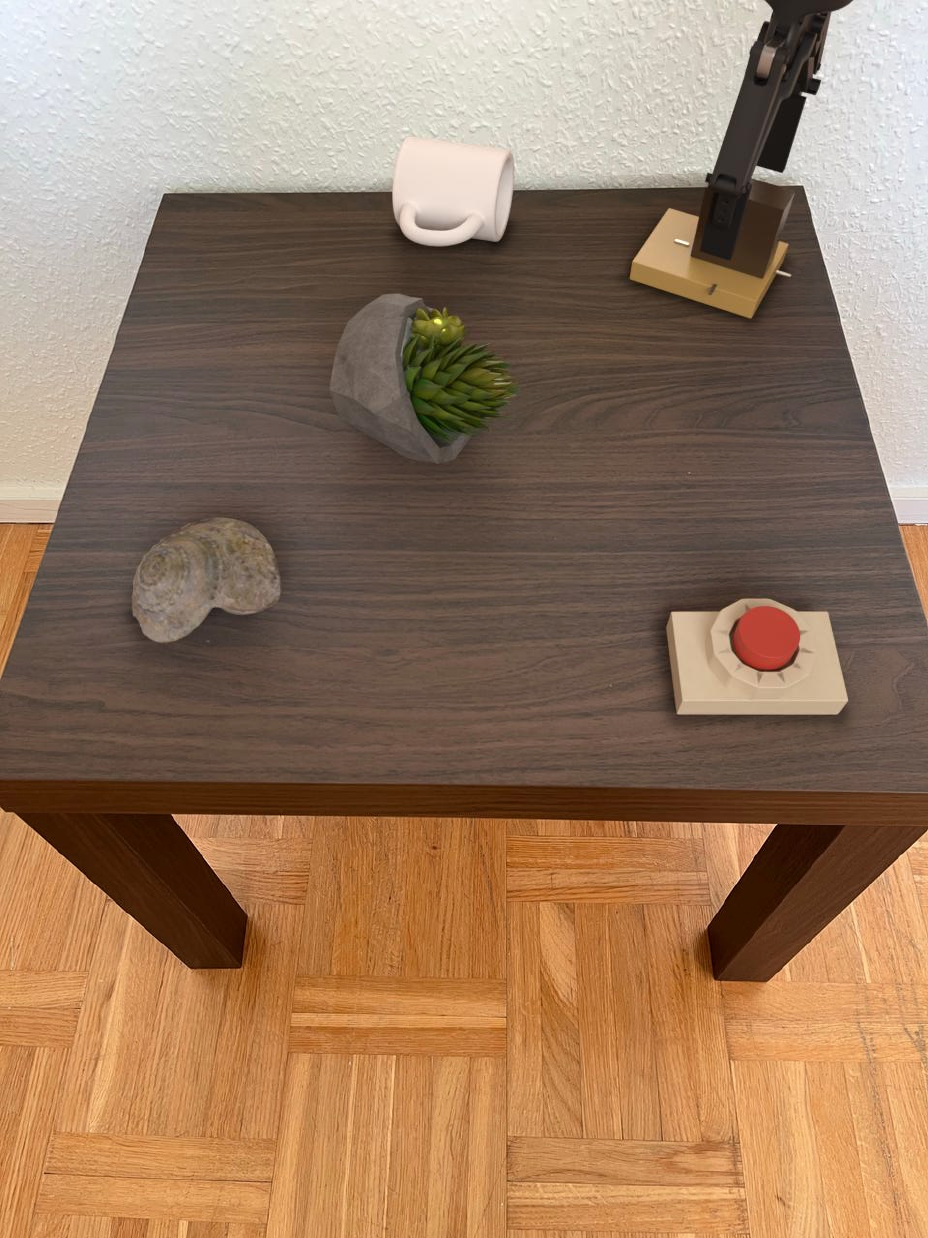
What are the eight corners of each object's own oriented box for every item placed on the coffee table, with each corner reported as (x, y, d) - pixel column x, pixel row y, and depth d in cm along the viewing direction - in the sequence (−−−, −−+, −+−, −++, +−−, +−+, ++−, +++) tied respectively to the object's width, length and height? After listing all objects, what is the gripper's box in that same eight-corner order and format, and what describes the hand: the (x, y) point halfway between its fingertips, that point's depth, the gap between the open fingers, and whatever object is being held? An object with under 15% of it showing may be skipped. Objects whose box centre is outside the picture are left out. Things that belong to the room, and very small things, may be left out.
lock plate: (803, 260, 87) (809, 240, 85) (764, 332, 82) (770, 312, 80) (669, 219, 91) (673, 199, 89) (624, 286, 86) (627, 266, 84)
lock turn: (773, 259, 84) (796, 187, 78) (762, 279, 83) (785, 206, 76) (701, 237, 86) (718, 165, 80) (689, 256, 84) (706, 183, 78)
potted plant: (396, 311, 79) (557, 313, 73) (383, 460, 81) (538, 475, 75) (314, 277, 69) (493, 276, 62) (300, 449, 71) (473, 465, 64)
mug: (419, 195, 93) (414, 118, 87) (513, 209, 92) (516, 132, 85) (382, 269, 87) (374, 193, 81) (483, 286, 86) (483, 210, 79)
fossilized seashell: (180, 506, 71) (173, 473, 64) (304, 567, 72) (309, 540, 65) (110, 626, 68) (96, 604, 61) (241, 687, 69) (241, 672, 62)
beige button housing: (818, 627, 66) (836, 597, 63) (837, 714, 62) (858, 688, 59) (665, 627, 66) (675, 597, 63) (676, 714, 63) (687, 688, 59)
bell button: (787, 618, 62) (794, 605, 61) (797, 670, 60) (805, 657, 59) (728, 619, 62) (734, 605, 61) (736, 670, 60) (743, 658, 59)
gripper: (822, -154, 68) (750, 123, 87) (701, -3, 57) (648, 279, 75) (923, -135, 66) (828, 144, 85) (818, 25, 55) (735, 307, 74)
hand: (743, 208), depth 80 cm, fingers open, 13 cm apart
